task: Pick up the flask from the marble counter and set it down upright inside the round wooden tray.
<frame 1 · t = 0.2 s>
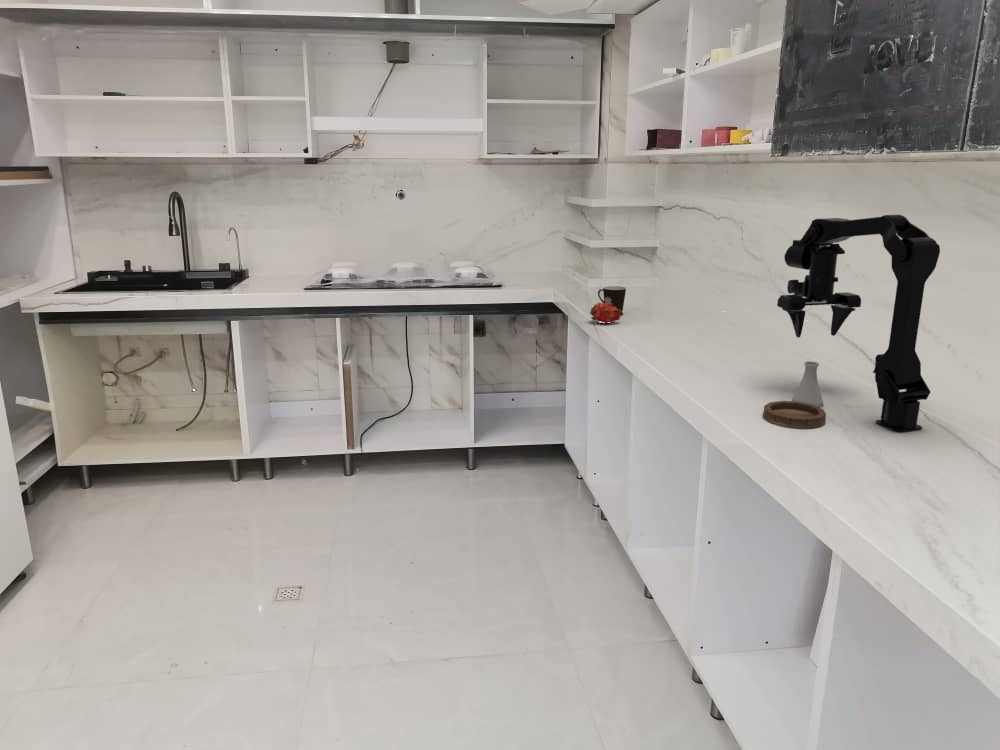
hand: (815, 336, 177), 14 cm above the worktop, tool pointing down, fingers open, 9 cm apart
flask: (807, 404, 171), on the worktop
round wooden tray: (793, 418, 161), on the worktop
coffee mug: (612, 313, 277), on the worktop
dragon fruit: (606, 324, 260), on the worktop
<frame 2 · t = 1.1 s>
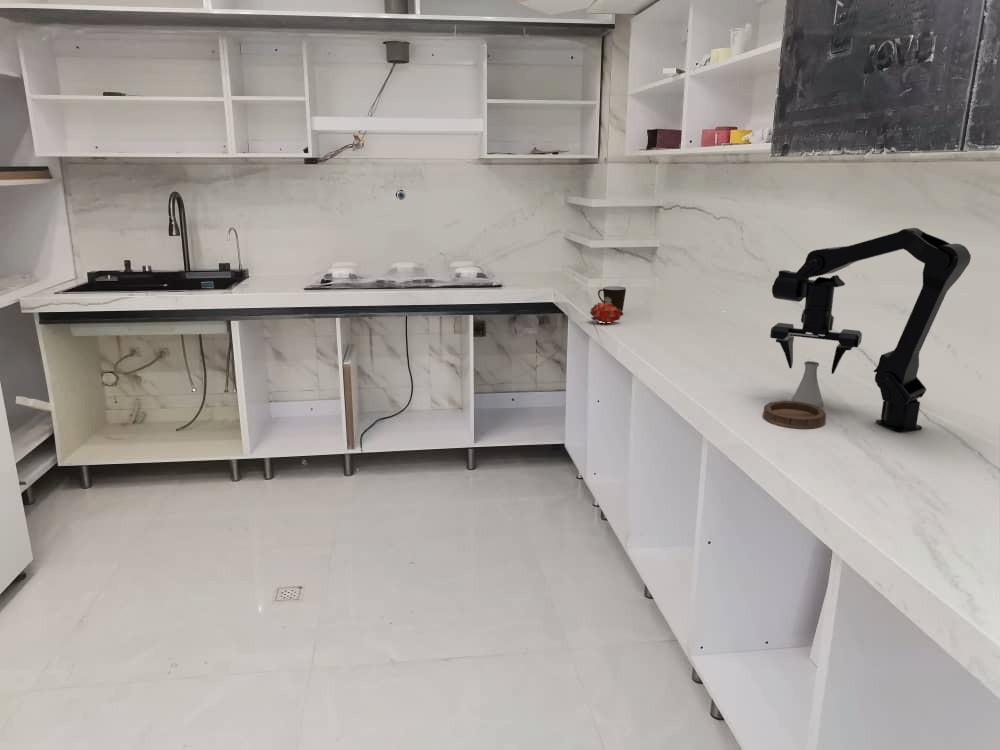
hand: (811, 370, 169), 8 cm above the worktop, tool pointing down, fingers open, 9 cm apart
nothing on the worktop moved.
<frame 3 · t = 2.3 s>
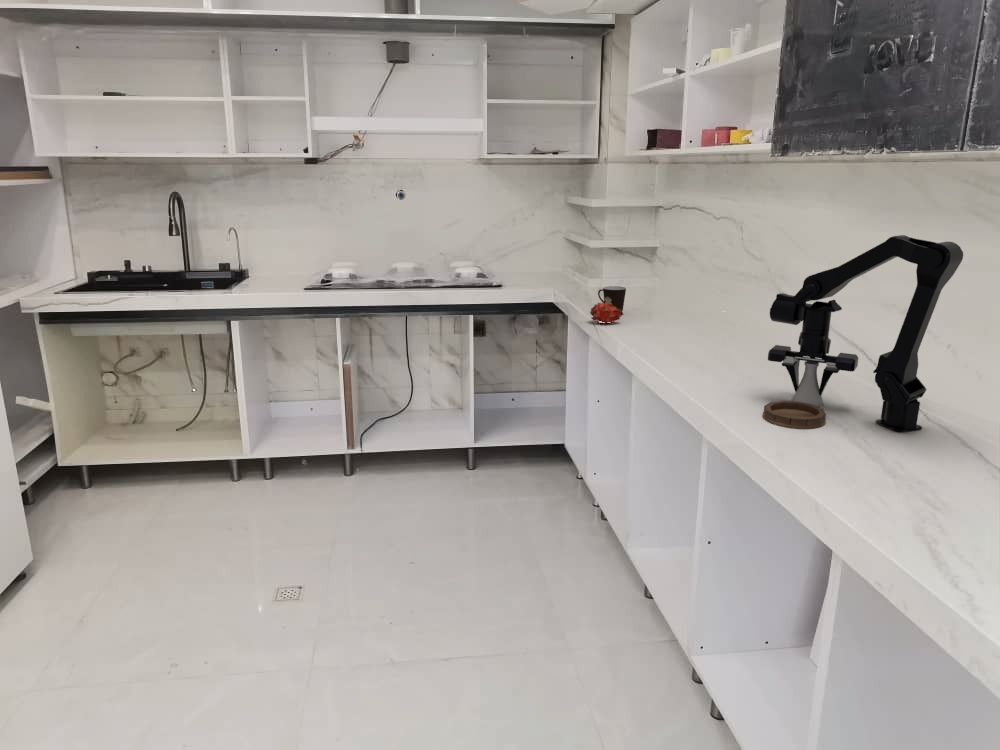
hand: (808, 393, 170), 3 cm above the worktop, tool pointing down, fingers closed on flask, 5 cm apart
flask: (807, 404, 171), on the worktop, touching gripper
everything else where it was.
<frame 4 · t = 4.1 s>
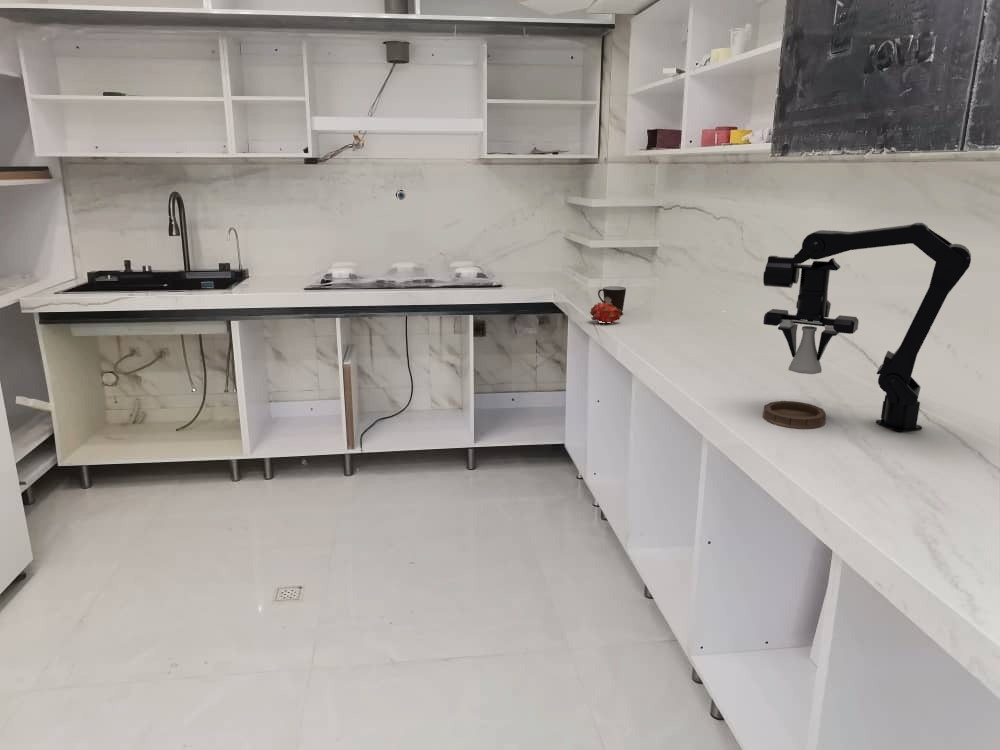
hand: (806, 358, 163), 12 cm above the worktop, tool pointing down, fingers closed on flask, 5 cm apart
flask: (804, 371, 164), point 9 cm above the worktop, touching gripper
everything else where it was.
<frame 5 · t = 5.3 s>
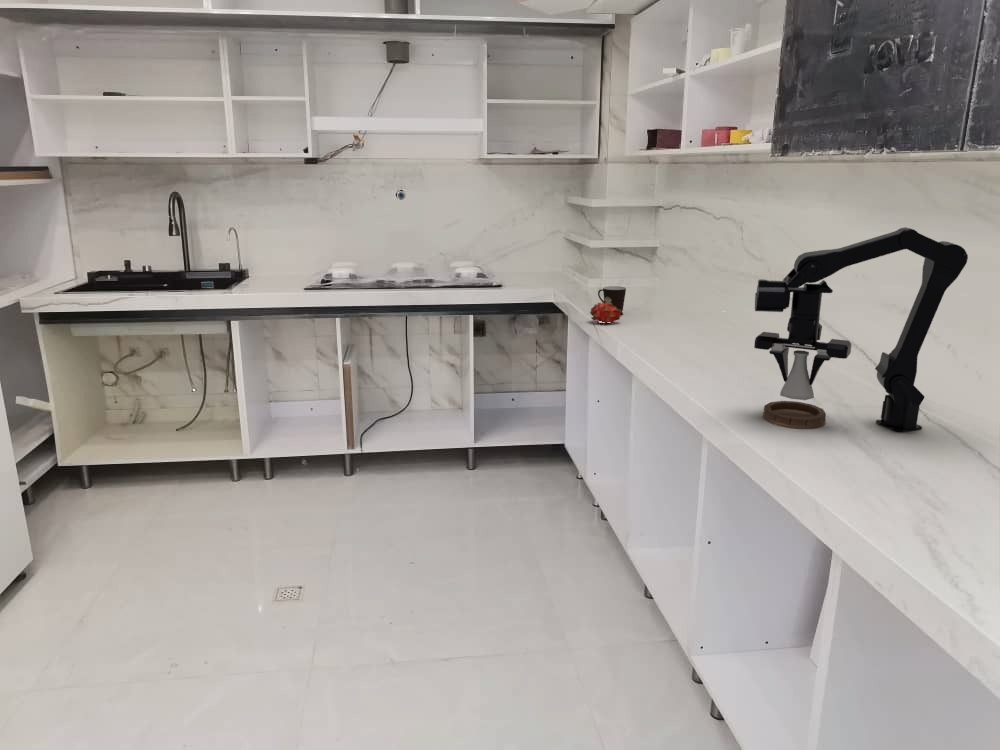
hand: (798, 382, 159), 8 cm above the worktop, tool pointing down, fingers closed on flask, 5 cm apart
flask: (796, 396, 160), point 5 cm above the worktop, touching gripper
everything else where it was.
when the fingers open (5 cm above the worktop, at t = 6.3 s): flask drops 1 cm, resting on round wooden tray.
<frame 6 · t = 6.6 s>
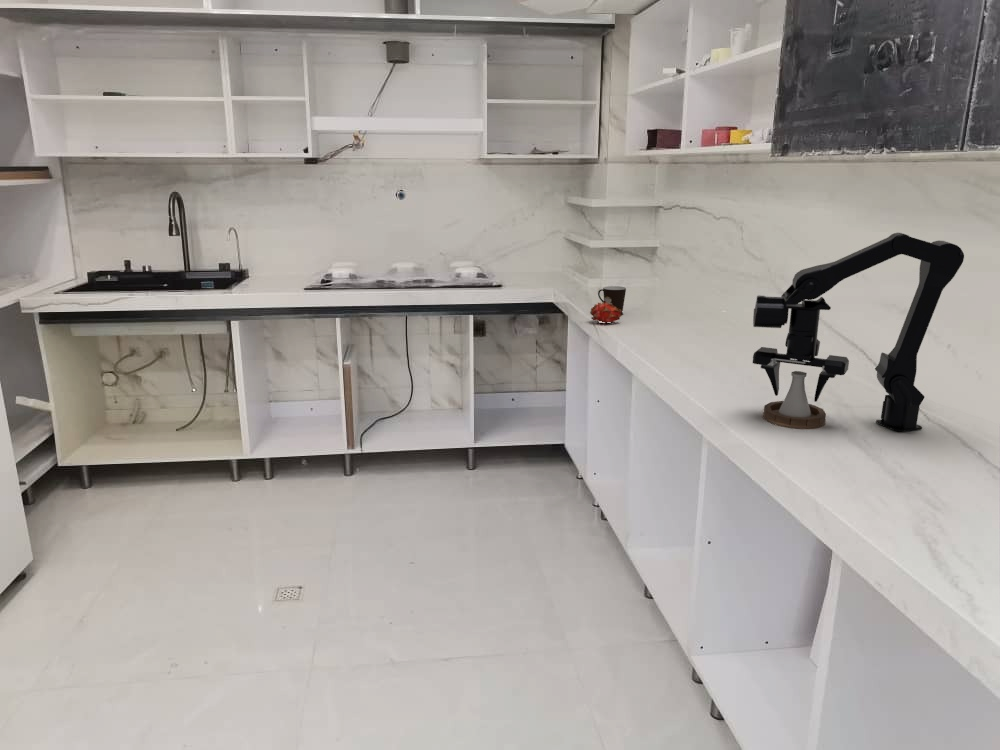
hand: (795, 398, 160), 5 cm above the worktop, tool pointing down, fingers open, 8 cm apart
flask: (794, 417, 161), resting on round wooden tray
everything else where it was.
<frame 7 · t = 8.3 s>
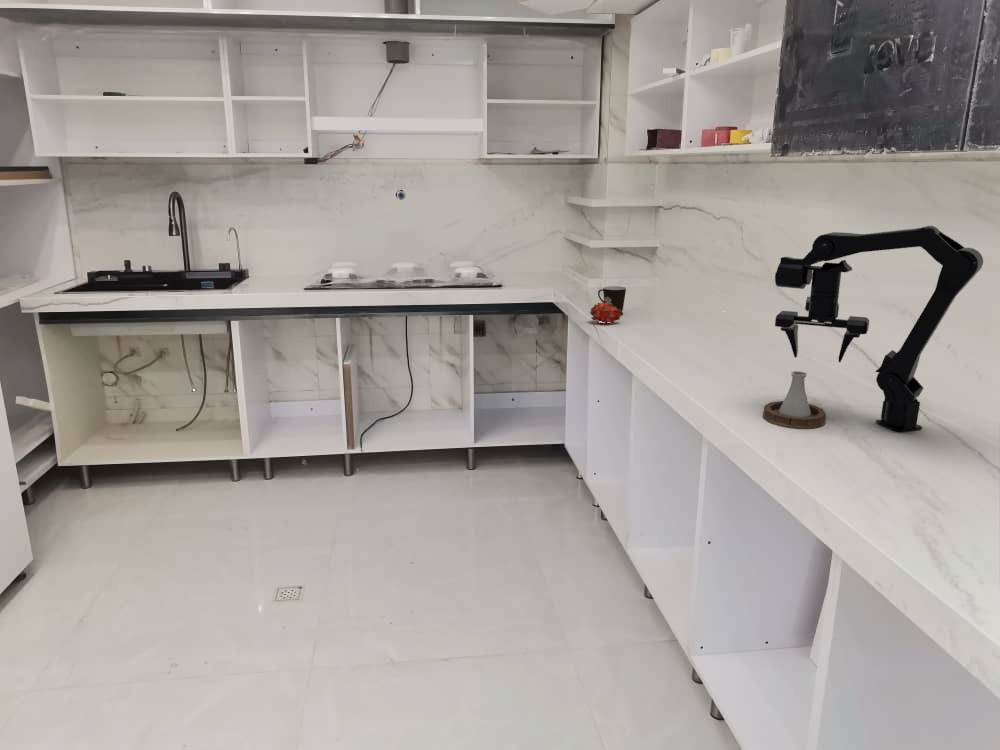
hand: (817, 359, 164), 12 cm above the worktop, tool pointing down, fingers open, 9 cm apart
nothing on the worktop moved.
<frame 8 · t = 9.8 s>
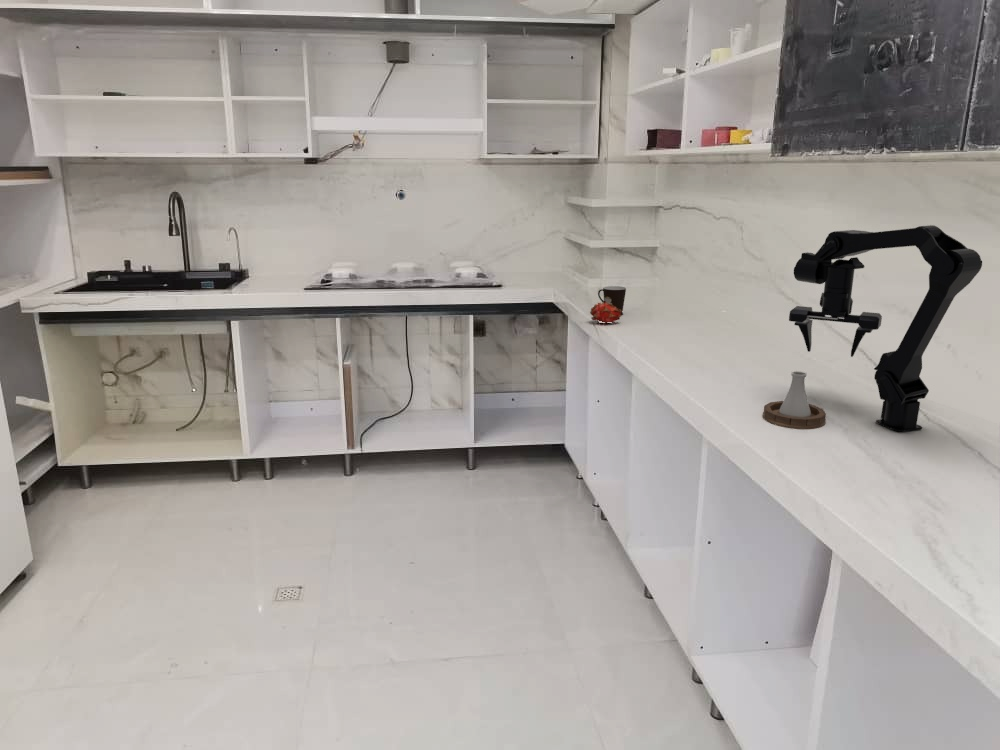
hand: (830, 353, 168), 12 cm above the worktop, tool pointing down, fingers open, 9 cm apart
nothing on the worktop moved.
at the end: flask 0.1 cm off-centre on the round wooden tray, point 0.4 cm above the round wooden tray's base; flask tilted 0°; the gripper is holding nothing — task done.
